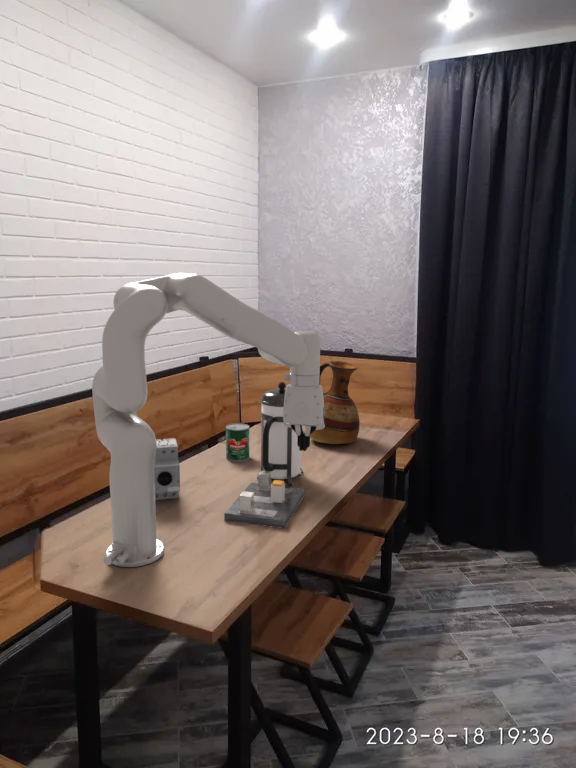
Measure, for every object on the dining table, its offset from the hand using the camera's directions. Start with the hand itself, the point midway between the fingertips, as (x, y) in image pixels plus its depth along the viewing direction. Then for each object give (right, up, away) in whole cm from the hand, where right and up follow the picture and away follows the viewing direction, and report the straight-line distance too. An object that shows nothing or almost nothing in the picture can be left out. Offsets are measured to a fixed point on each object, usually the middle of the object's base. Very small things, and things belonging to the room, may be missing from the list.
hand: (303, 449), depth 152 cm
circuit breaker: (-38, -15, +11) cm, 43 cm away
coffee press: (-6, -12, +26) cm, 30 cm away
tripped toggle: (-7, -14, +5) cm, 16 cm away
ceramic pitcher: (+12, -4, +65) cm, 66 cm away
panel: (-10, -16, +6) cm, 20 cm away
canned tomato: (-21, -8, +45) cm, 50 cm away
